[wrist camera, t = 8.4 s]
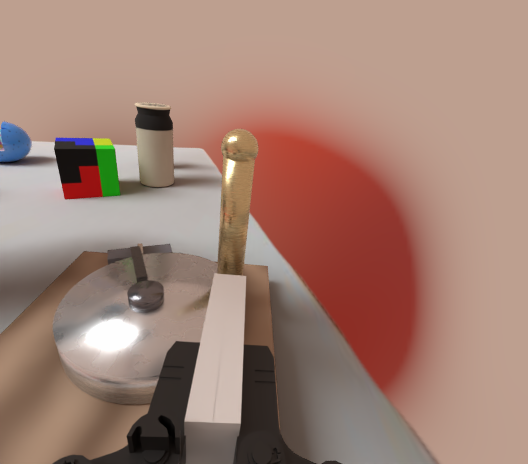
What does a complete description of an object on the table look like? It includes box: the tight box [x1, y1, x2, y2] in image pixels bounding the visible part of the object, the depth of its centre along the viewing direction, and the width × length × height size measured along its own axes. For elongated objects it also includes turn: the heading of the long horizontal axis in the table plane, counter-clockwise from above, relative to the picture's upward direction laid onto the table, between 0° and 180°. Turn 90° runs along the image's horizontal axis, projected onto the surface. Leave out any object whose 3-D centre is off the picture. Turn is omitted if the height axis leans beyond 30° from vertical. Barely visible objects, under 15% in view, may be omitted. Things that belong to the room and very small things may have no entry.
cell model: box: [0, 122, 32, 162], centre depth 70 cm, size 10×12×10 cm
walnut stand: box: [0, 244, 280, 464], centre depth 27 cm, size 24×24×6 cm
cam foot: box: [53, 129, 258, 405], centre depth 24 cm, size 16×17×18 cm
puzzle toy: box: [54, 138, 120, 199], centre depth 61 cm, size 10×10×10 cm
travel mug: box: [135, 103, 174, 187], centre depth 68 cm, size 8×8×18 cm
